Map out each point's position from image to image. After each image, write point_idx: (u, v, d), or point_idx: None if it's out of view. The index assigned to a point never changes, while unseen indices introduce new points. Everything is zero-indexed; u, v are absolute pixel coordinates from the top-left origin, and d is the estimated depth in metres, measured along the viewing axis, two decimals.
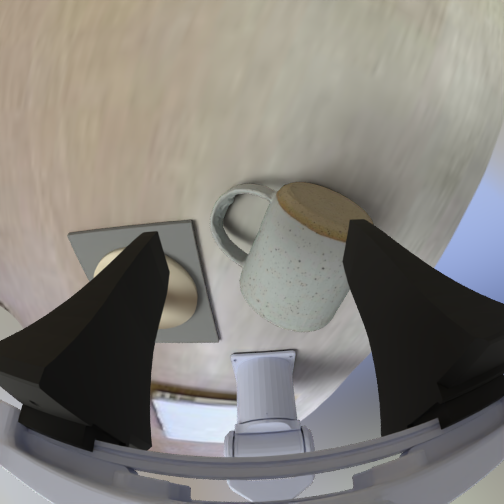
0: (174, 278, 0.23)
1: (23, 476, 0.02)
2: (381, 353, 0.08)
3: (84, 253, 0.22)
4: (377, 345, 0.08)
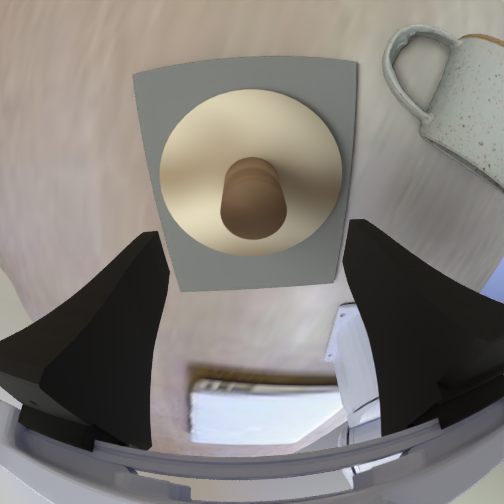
0: (318, 144, 0.14)
1: (23, 476, 0.02)
2: (381, 353, 0.08)
3: (155, 105, 0.13)
4: (377, 345, 0.08)
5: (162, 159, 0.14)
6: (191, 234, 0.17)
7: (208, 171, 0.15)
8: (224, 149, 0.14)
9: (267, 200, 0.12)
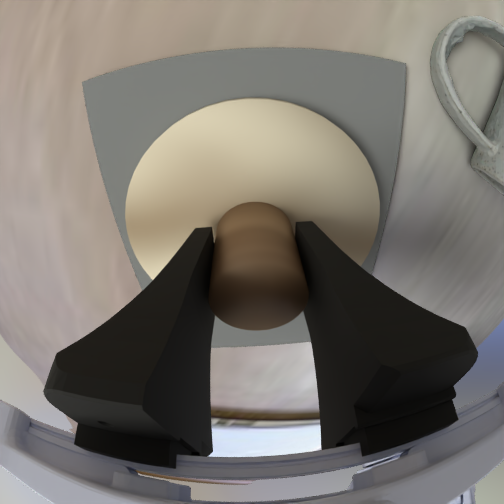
0: (352, 183, 0.10)
1: (23, 476, 0.02)
2: (319, 363, 0.08)
3: (114, 125, 0.09)
4: (317, 354, 0.08)
5: (127, 204, 0.10)
6: None
7: (192, 221, 0.10)
8: (214, 190, 0.10)
9: (279, 285, 0.08)
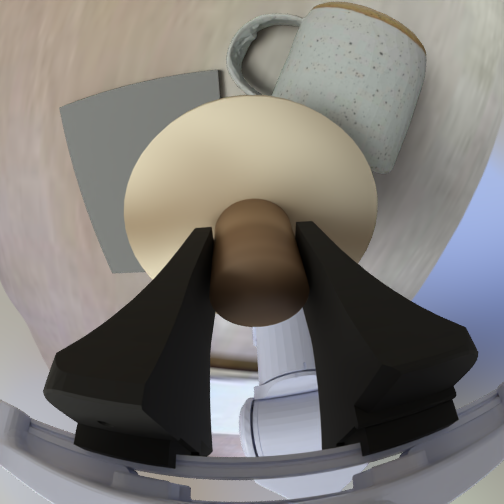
0: (350, 179, 0.10)
1: (23, 476, 0.02)
2: (319, 363, 0.08)
3: (75, 129, 0.16)
4: (317, 354, 0.08)
5: (126, 203, 0.10)
6: None
7: (191, 218, 0.10)
8: (213, 188, 0.10)
9: (280, 281, 0.08)
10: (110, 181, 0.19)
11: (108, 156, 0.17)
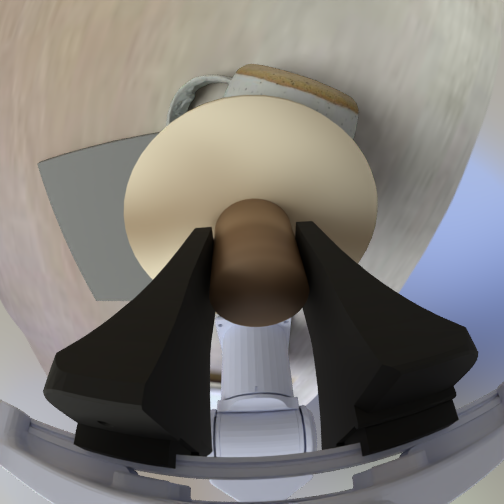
0: (350, 180, 0.10)
1: (23, 476, 0.02)
2: (319, 363, 0.08)
3: (52, 183, 0.18)
4: (317, 354, 0.08)
5: (126, 203, 0.10)
6: None
7: (191, 218, 0.10)
8: (213, 188, 0.10)
9: (280, 281, 0.08)
10: (86, 228, 0.21)
11: (82, 207, 0.20)
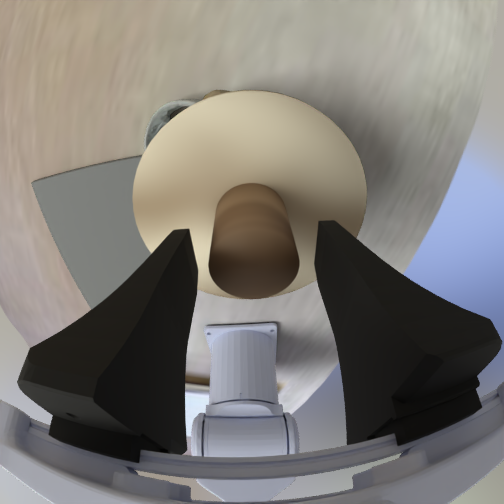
0: (340, 167, 0.11)
1: (23, 476, 0.02)
2: (346, 359, 0.08)
3: (46, 202, 0.19)
4: (342, 351, 0.08)
5: (135, 185, 0.11)
6: None
7: (194, 201, 0.11)
8: (215, 172, 0.11)
9: (272, 252, 0.09)
10: (79, 243, 0.22)
11: (75, 224, 0.21)
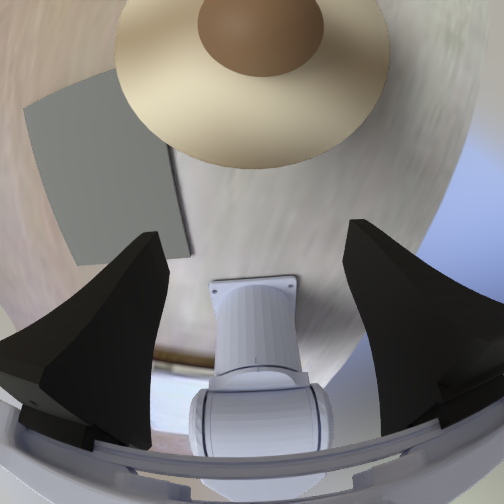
0: None
1: (23, 476, 0.02)
2: (381, 353, 0.08)
3: (36, 127, 0.15)
4: (377, 345, 0.08)
5: (122, 16, 0.06)
6: (155, 129, 0.09)
7: (188, 23, 0.07)
8: None
9: (287, 1, 0.04)
10: (67, 174, 0.18)
11: (64, 150, 0.17)
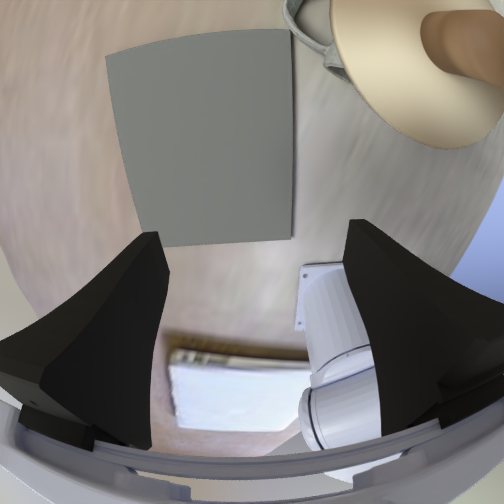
0: None
1: (23, 476, 0.02)
2: (381, 353, 0.08)
3: (122, 79, 0.14)
4: (377, 345, 0.08)
5: None
6: (366, 90, 0.09)
7: (403, 9, 0.06)
8: None
9: None
10: (159, 138, 0.17)
11: (160, 109, 0.16)
